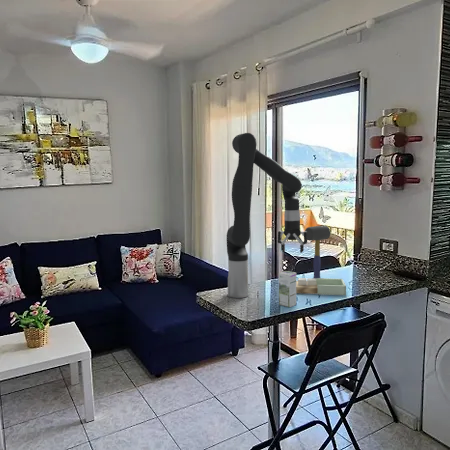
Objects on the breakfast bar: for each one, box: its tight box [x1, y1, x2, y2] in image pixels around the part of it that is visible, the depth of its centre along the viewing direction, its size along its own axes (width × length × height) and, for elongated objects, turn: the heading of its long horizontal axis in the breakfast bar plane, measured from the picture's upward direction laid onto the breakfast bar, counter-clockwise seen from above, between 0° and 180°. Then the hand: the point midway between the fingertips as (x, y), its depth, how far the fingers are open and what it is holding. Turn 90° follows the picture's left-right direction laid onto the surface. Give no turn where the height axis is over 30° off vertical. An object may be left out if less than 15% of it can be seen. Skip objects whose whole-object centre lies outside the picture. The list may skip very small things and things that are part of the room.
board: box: [296, 280, 318, 295], centre depth 208 cm, size 12×12×3 cm
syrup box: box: [278, 270, 297, 308], centre depth 184 cm, size 6×6×14 cm
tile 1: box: [297, 277, 307, 285], centre depth 208 cm, size 4×4×2 cm
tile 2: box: [306, 277, 316, 285], centre depth 207 cm, size 4×4×2 cm
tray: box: [316, 277, 347, 296], centre depth 206 cm, size 13×14×4 cm
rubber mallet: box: [304, 225, 331, 278], centre depth 220 cm, size 12×8×30 cm, turn 117°
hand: (292, 252), depth 208 cm, fingers open, 8 cm apart
